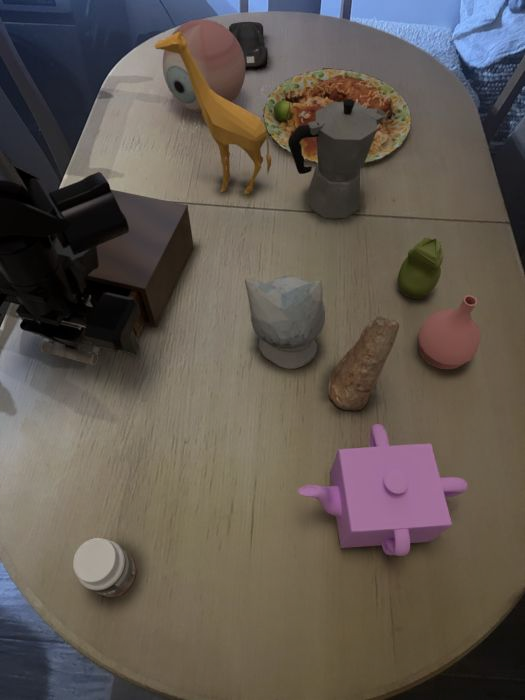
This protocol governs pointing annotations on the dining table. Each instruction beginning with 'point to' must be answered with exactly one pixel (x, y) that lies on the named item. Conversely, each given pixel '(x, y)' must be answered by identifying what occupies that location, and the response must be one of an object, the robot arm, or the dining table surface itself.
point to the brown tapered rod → (362, 364)
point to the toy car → (251, 44)
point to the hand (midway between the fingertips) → (76, 346)
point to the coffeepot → (337, 155)
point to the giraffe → (222, 115)
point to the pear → (421, 269)
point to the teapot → (387, 495)
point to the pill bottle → (104, 567)
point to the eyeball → (206, 62)
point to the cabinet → (147, 251)
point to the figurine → (287, 319)
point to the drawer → (50, 347)
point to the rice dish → (335, 86)
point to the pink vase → (450, 336)
